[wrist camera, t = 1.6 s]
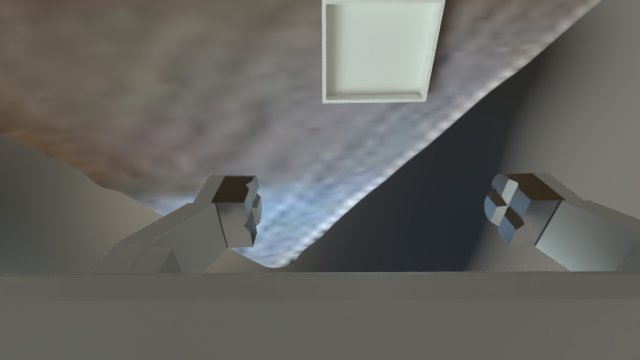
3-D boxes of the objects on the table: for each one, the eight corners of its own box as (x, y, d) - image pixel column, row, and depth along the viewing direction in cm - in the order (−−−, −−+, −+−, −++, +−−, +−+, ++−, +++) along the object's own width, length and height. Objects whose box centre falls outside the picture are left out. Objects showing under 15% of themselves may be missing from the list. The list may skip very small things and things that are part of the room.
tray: (322, 97, 38) (322, 103, 35) (321, -1, 32) (322, -1, 29) (419, 95, 38) (425, 101, 35) (437, -2, 32) (445, -3, 29)
